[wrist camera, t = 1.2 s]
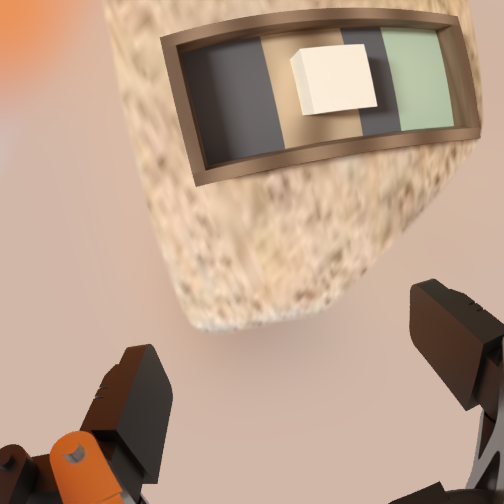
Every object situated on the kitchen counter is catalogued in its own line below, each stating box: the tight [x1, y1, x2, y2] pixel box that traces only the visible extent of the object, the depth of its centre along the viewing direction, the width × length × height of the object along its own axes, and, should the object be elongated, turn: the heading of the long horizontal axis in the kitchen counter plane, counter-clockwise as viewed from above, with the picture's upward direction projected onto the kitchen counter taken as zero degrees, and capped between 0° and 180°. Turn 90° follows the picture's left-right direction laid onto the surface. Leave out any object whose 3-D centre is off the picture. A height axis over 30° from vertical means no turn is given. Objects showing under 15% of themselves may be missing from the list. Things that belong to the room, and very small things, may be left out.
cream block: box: [290, 44, 377, 115], centre depth 22 cm, size 5×5×4 cm
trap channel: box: [160, 8, 480, 187], centre depth 23 cm, size 26×12×4 cm, turn 102°
